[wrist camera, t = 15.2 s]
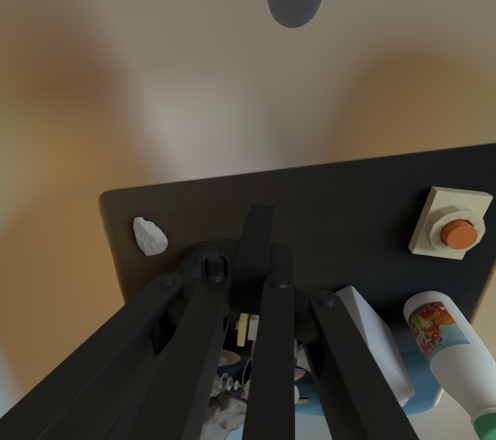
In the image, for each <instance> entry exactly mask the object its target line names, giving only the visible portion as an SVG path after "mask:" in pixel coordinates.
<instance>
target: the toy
mask: <svg viewBox="0 0 496 440" xmlns="http://www.w3.org/2000/svg"><path fill="white" fill-rule="evenodd" d="M240 359H241V357H240V356H239V355H238V354H236V353H234V352H231V351H227V350H224V349H223V348H222V352H221V356H220V360H219V364H218V366H225V365H231V364H234V363H237V362H238V361H240ZM221 379H222V384H221V385H220V387H219V388H220V389H221V391H222V392H223V391H225V390H226V388H227V390H228V391H229V390H230V389H231V387H232V386H234V389H235V390H237V388H238V386H239V385H238V384H239V383H238V381H236V382H235V383H233V379H232V377H229V376H228V374H227V373H224V374H223V375H222V377H221ZM239 387H243V386H239Z"/></svg>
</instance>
